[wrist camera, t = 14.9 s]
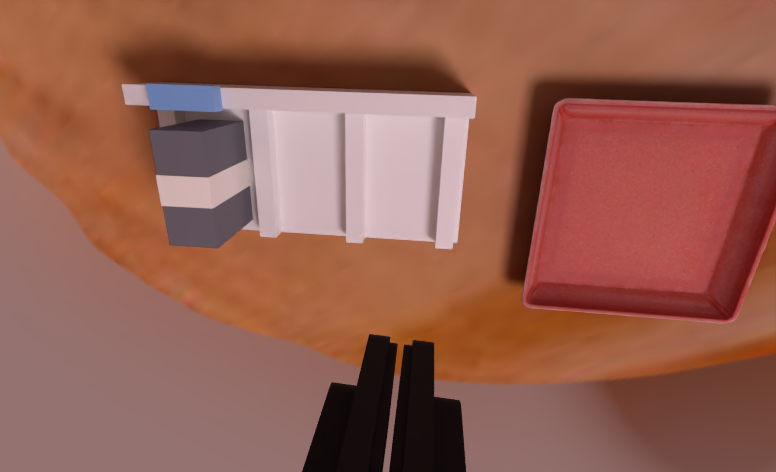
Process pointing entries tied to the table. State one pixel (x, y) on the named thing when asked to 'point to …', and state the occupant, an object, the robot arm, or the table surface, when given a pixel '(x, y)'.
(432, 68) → the table surface
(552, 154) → the plant saucer
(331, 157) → the white ribbed panel
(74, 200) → the table surface
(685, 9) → the table surface
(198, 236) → the block
